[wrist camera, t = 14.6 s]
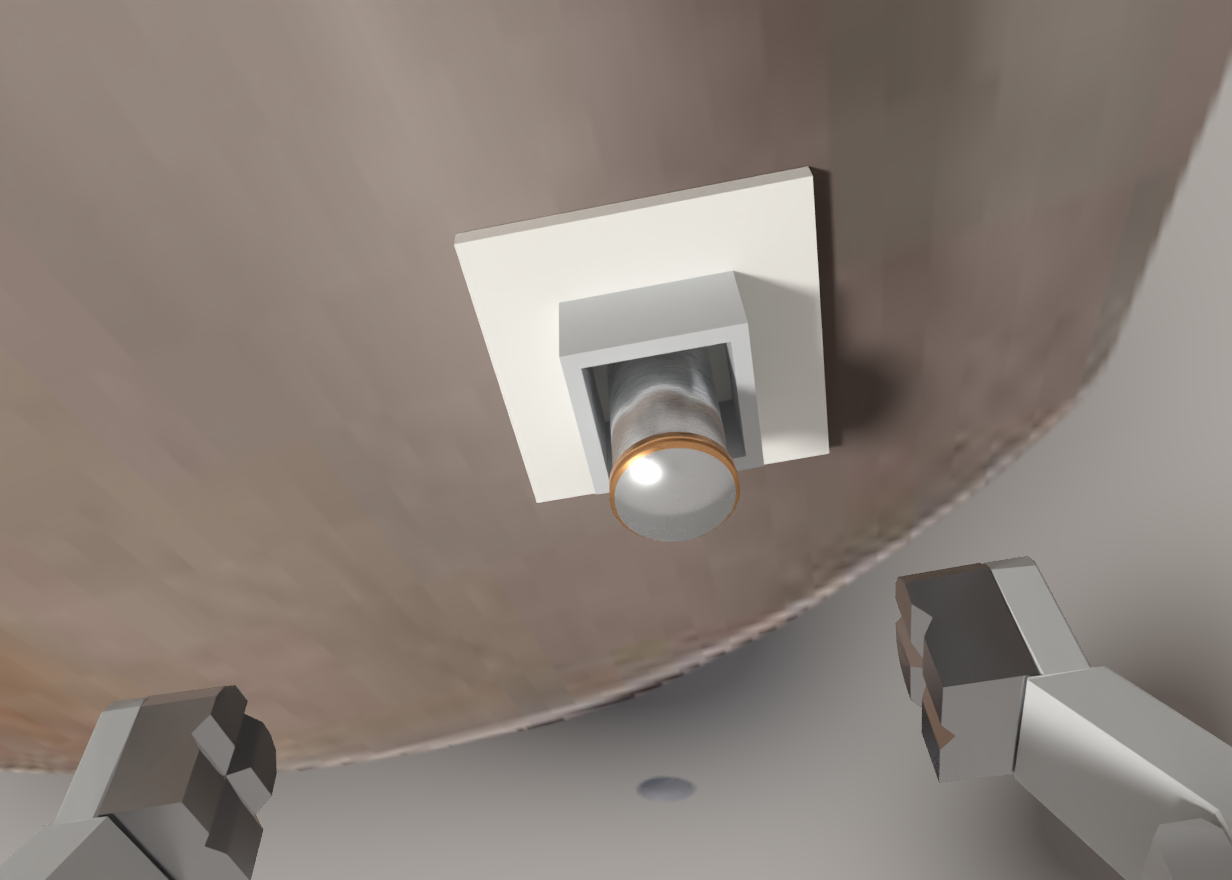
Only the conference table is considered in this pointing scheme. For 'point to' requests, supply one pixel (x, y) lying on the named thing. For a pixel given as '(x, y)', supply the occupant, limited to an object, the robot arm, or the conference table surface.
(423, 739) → the conference table surface
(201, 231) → the conference table surface
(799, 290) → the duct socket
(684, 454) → the copper rimmed tube
